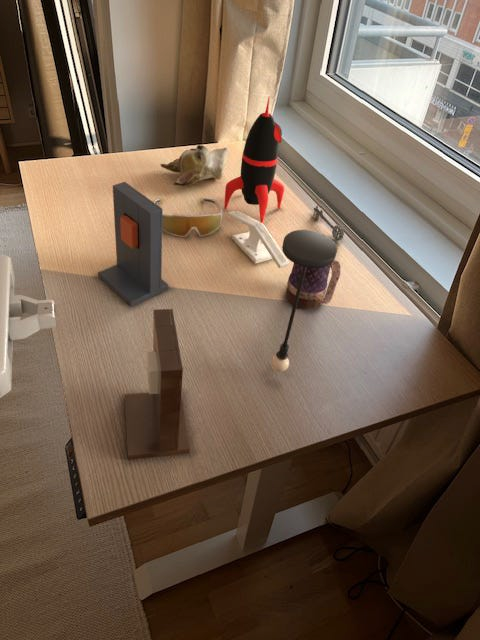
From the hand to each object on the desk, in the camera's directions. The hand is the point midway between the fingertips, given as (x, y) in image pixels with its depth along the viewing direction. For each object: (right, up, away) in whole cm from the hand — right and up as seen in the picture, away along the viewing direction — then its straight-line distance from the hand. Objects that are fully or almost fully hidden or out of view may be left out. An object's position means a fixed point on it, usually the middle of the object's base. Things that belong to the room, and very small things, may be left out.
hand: (55, 313), depth 59 cm
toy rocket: (+24, +24, +58) cm, 67 cm away
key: (+40, +19, +55) cm, 71 cm away
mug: (+33, +2, +36) cm, 49 cm away
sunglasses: (+10, +21, +52) cm, 56 cm away
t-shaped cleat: (+23, +14, +46) cm, 54 cm away
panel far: (+2, +6, +34) cm, 35 cm away
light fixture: (+27, -10, +22) cm, 36 cm away
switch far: (+2, +12, +28) cm, 31 cm away
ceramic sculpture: (+10, +33, +65) cm, 73 cm away
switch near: (+10, -9, +7) cm, 15 cm away
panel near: (+9, -15, +13) cm, 22 cm away
